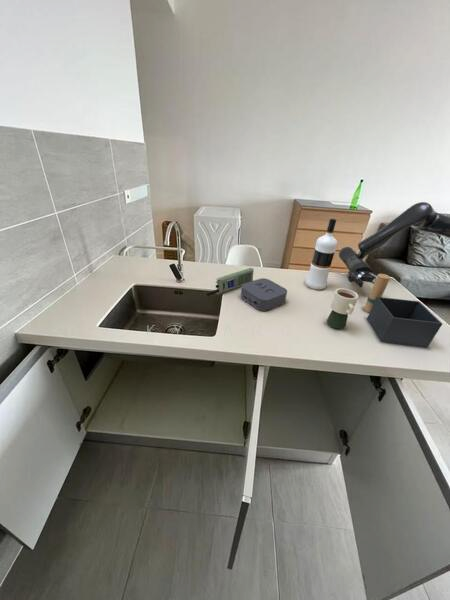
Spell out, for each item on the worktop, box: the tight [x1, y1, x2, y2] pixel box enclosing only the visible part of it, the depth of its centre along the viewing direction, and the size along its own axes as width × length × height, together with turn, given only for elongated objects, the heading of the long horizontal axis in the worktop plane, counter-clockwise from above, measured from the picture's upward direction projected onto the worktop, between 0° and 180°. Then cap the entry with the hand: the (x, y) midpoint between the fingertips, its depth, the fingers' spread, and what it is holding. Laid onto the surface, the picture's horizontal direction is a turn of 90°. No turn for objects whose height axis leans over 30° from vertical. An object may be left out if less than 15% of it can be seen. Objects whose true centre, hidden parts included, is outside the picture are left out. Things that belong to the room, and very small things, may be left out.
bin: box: [366, 296, 443, 349], centre depth 82 cm, size 14×13×10 cm
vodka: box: [304, 218, 338, 291], centre depth 104 cm, size 9×9×30 cm
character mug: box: [326, 287, 359, 330], centre depth 83 cm, size 11×7×13 cm, turn 4°
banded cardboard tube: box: [363, 273, 391, 314], centre depth 92 cm, size 4×4×15 cm
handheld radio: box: [206, 267, 254, 297], centre depth 104 cm, size 7×3×25 cm
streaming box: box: [240, 278, 288, 312], centre depth 98 cm, size 14×14×5 cm
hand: (373, 286), depth 95 cm, fingers open, 8 cm apart
